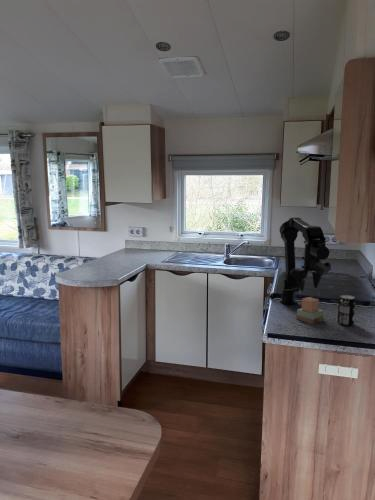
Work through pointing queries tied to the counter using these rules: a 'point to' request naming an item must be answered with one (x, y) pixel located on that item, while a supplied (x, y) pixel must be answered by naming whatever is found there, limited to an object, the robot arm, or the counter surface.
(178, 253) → the counter surface
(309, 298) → the tan cube
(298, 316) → the walnut slab
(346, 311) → the beverage can
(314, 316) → the sage slab
